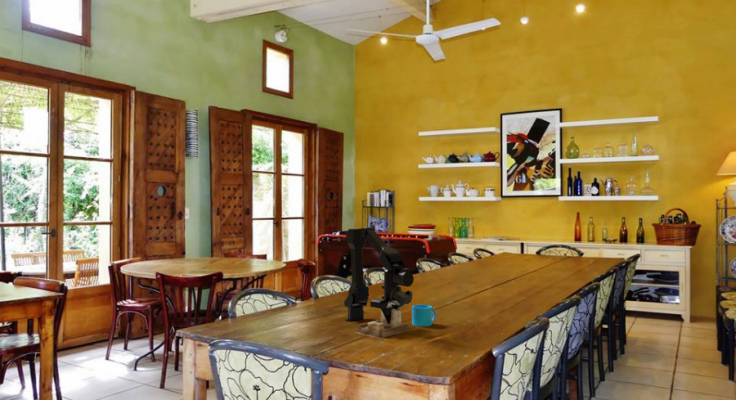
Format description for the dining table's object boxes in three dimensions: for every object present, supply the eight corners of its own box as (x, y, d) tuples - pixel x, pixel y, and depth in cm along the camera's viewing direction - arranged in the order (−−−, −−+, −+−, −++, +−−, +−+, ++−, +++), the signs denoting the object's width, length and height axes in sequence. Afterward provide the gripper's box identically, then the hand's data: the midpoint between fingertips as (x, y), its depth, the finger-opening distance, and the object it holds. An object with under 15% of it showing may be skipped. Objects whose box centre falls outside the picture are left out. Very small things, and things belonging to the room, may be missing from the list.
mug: (421, 329, 217) (421, 309, 217) (408, 325, 223) (408, 306, 223) (442, 325, 224) (442, 305, 224) (429, 322, 231) (429, 302, 231)
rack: (353, 334, 207) (353, 325, 207) (384, 326, 220) (384, 318, 221) (380, 340, 198) (380, 331, 198) (410, 332, 211) (410, 323, 211)
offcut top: (367, 328, 206) (367, 323, 206) (373, 326, 209) (373, 321, 209) (378, 330, 203) (378, 324, 203) (383, 328, 206) (383, 323, 206)
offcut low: (364, 332, 207) (364, 327, 207) (371, 331, 210) (371, 325, 210) (378, 335, 202) (378, 330, 202) (385, 334, 205) (385, 328, 205)
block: (380, 327, 215) (380, 307, 215) (384, 327, 217) (384, 307, 217) (397, 331, 209) (398, 311, 209) (401, 330, 211) (401, 310, 211)
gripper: (391, 288, 201) (391, 330, 201) (421, 283, 214) (421, 322, 214) (369, 285, 208) (369, 325, 208) (400, 280, 222) (399, 318, 222)
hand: (390, 322), depth 213 cm, fingers closed on block, 2 cm apart
